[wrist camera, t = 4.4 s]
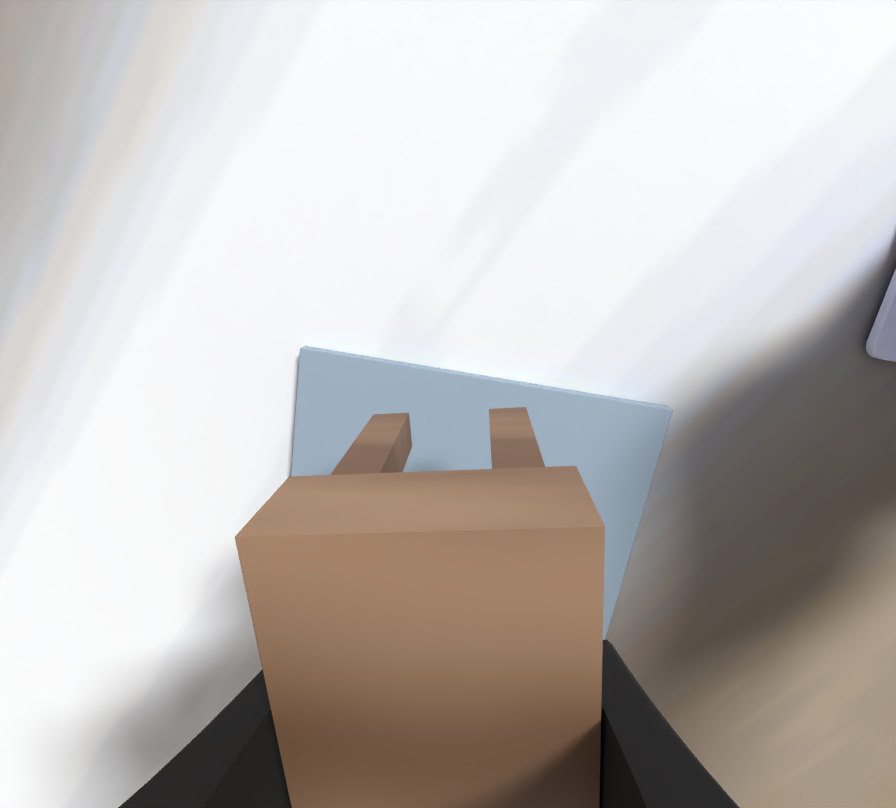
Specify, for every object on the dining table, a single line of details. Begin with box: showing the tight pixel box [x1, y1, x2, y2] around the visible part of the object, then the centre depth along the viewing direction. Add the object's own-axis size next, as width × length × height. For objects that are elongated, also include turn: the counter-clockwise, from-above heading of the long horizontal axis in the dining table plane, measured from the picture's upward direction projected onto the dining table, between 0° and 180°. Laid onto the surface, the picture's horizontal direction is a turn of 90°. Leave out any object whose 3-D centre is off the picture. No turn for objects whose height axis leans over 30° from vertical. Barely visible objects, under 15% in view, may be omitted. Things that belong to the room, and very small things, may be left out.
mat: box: [291, 346, 673, 640], centre depth 20 cm, size 14×14×1 cm
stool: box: [235, 407, 605, 808], centre depth 11 cm, size 9×5×7 cm, turn 4°
